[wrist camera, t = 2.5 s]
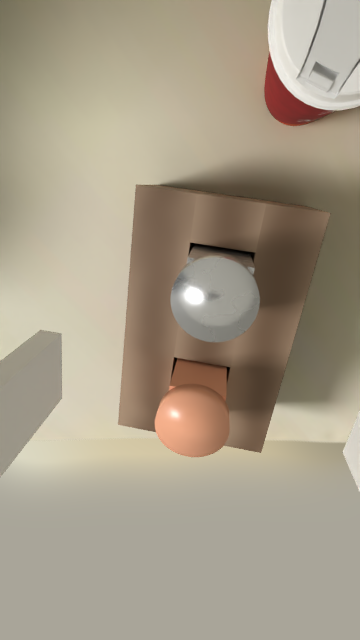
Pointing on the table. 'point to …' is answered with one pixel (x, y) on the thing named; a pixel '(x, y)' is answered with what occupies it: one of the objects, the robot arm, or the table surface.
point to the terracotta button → (194, 409)
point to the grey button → (216, 293)
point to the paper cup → (312, 59)
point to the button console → (236, 354)
